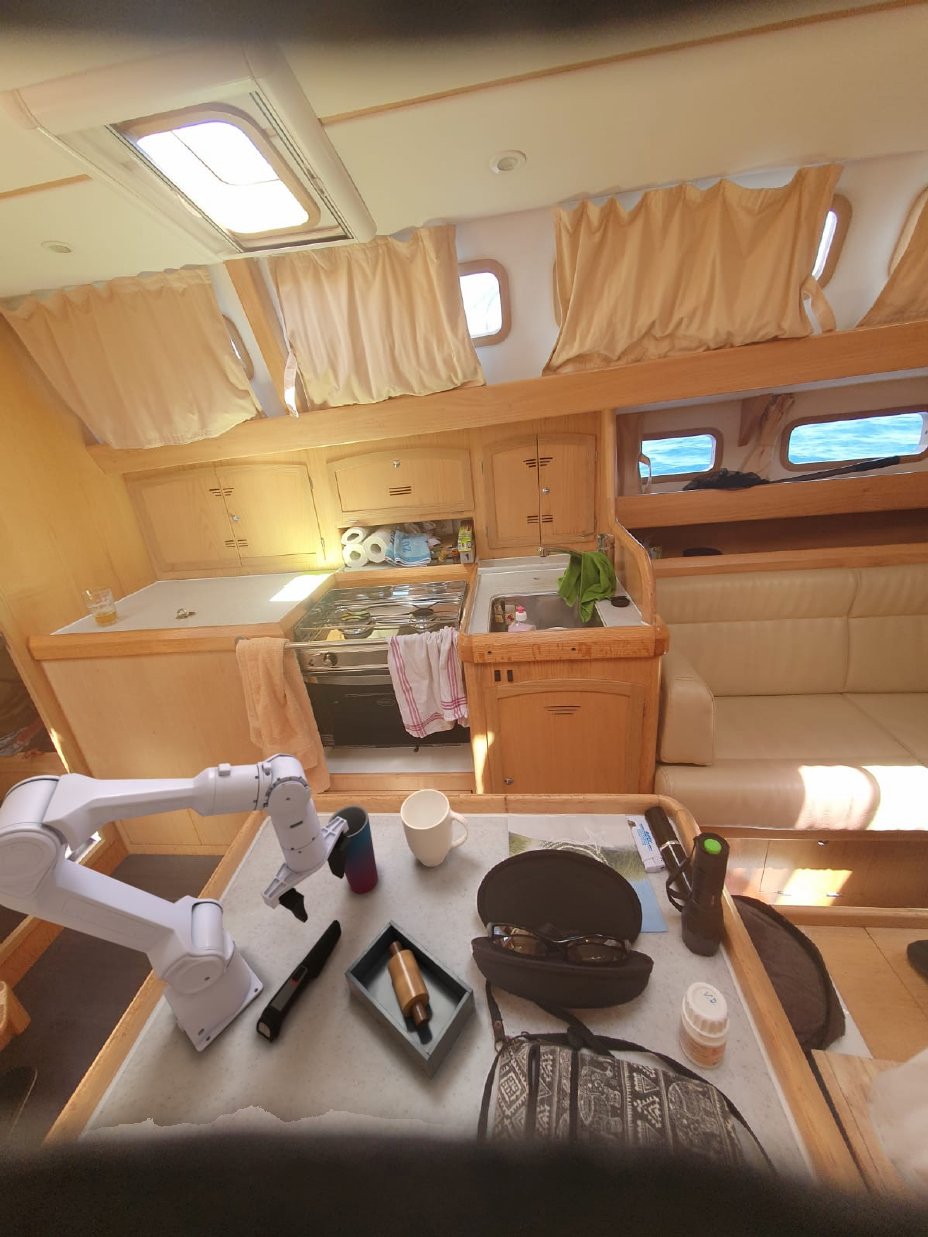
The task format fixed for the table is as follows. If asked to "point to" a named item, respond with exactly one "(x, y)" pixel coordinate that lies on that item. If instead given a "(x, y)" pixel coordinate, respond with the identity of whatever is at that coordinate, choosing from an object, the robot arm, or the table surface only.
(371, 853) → the cup
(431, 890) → the table surface
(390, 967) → the rolling pin
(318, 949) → the electric trimmer
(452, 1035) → the tin
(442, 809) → the mug
